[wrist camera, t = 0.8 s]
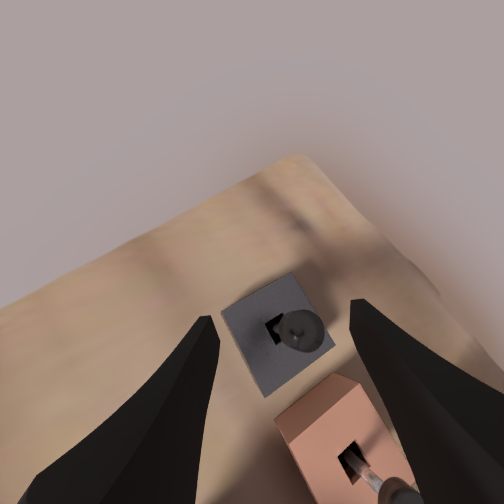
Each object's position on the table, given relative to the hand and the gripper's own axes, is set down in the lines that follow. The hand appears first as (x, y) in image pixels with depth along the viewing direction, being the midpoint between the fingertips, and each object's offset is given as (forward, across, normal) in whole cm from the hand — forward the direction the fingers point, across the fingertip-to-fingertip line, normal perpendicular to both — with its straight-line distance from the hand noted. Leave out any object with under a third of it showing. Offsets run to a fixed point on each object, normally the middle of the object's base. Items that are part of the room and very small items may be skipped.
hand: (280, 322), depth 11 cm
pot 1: (+11, +2, +12) cm, 17 cm away
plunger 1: (+8, +1, +9) cm, 12 cm away
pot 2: (+4, -3, +22) cm, 22 cm away
